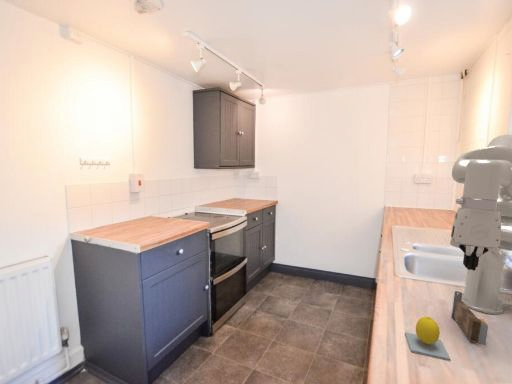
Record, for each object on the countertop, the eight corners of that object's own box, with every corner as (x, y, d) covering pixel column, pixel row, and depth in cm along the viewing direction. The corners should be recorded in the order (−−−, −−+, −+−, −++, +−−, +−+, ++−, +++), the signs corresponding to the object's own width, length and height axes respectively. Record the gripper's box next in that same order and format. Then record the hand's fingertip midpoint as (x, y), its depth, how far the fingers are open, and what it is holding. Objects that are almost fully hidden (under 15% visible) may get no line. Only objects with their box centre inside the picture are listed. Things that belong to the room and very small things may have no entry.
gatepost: (457, 317, 90) (461, 291, 89) (459, 320, 88) (463, 294, 87) (450, 316, 90) (453, 290, 89) (452, 319, 89) (456, 293, 87)
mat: (440, 341, 77) (440, 339, 77) (450, 360, 70) (450, 358, 70) (404, 334, 80) (405, 332, 80) (410, 351, 73) (411, 349, 72)
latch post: (481, 340, 78) (484, 318, 78) (485, 345, 76) (488, 323, 75) (473, 338, 79) (476, 316, 78) (476, 343, 77) (480, 321, 76)
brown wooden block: (453, 317, 88) (455, 299, 87) (460, 318, 87) (463, 301, 87) (469, 340, 77) (472, 320, 76) (478, 342, 76) (481, 322, 75)
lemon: (416, 335, 79) (419, 309, 78) (439, 344, 75) (442, 317, 74) (412, 344, 75) (415, 316, 74) (435, 354, 71) (439, 325, 70)
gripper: (450, 204, 74) (442, 268, 76) (520, 209, 69) (509, 278, 71) (442, 200, 81) (435, 259, 83) (505, 205, 76) (496, 268, 78)
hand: (469, 268), depth 77 cm, fingers closed
